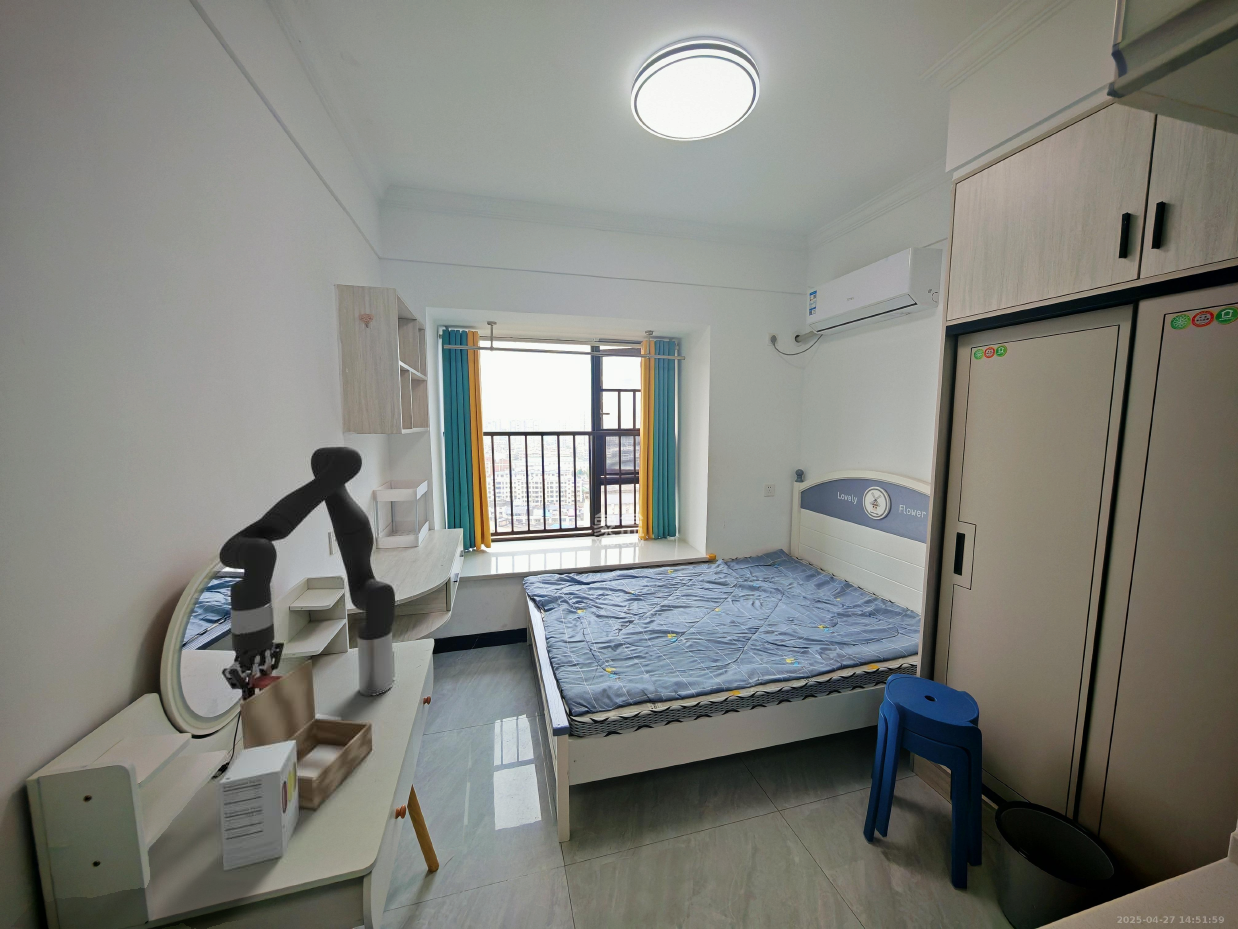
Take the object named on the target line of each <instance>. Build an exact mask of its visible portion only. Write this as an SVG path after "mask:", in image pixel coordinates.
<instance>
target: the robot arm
mask: <svg viewBox="0 0 1238 929" xmlns="http://www.w3.org/2000/svg"><path fill="white" fill-rule="evenodd" d="M362 466H363V458H362V456H361V454H360V452H359V451H358V450H357V449H355V448H353V447H349V446H329V447H326V446H325V447H319V448H318V449H316V450H314V452H313V453H312V454H311V457H310V468H311V469H310V470H311V471H312V475H313V479H312V480H310V481H309V482H307V483H305V484H304V485H302V486H300V487H299V488H297V489H295V490H293V491H291V492H290V493H288V494H287V495H285V496H284V497H282V498H281V499H280V500H278V501H277V502H276V503H275V504H273V506H272V507H270V509H268V510H267V512H265V513H264V514H263V515H262V517H261V518H259V519H257V520H256V521H254V522H253V523H251V524H249V525H247V526H245V527H244V528H243V529H241V530H239V531H238V532H236V533H235V534H233V535H232V536H231V537H230V538H229V539H227V541H225V543H223V545H222V547H221V549H220V551H219V555H218V556H219V558H218V559H219V562H220V563H221V565H223V566H224V567H226V568H229V569H235V570H243V577H242V579H239V580H237V581H235V582H234V583H233V584H232V585H231V586H230V590H229V591H230V593H229V594H230V612H231V613H230V631H231V632H230V633H231V645H232V646H231V647H232V649H233V651H234V652H235V657H234V659H233V663H232V664H231V665H230V666H229V667H228V668H227V667H225V668H223V670H222V671H221V674H222V676H223V678H225V680H226V682H227V683H228V685H229V687H230V689H232V690H241V695H242V696H241V698H242V701H243V702H244V701H246V700H247V699H249V698H250V697H252V696H253V695H255V694H256V690H255V689H256V688H255V686H253V685H254V679H255V678H256V677H257V675H258V676H259V675H265V676H273V672H274V671H275V670H278V668H279V666H280V663H281V658H282V654H283V651H284V646H285V643H284V642H279V641H278V642H273V641H275V639H276V638H275V622H274V610H273V604H272V593H271V592H272V591H271V583H272V579H273V576H274V572H275V568H276V565H277V564H276V563H277V559H278V555H277V554H278V553H277V549H276V546H275V545H274V543H273V542H277V541H280V540H284V539H286V538H287V537H288V536H290V535H291V533H293V532H294V530H296V529H297V527H298V526H300V524H301V523H302V522H303V521H304V520H305V519H306V518H307V517H308V516H309V515H311V513H312V512H313V511H314V510H315V509H317V508H318V507H319V506H320V504H322V503H323V502H324V504H325V507H326V509H327V513H328V516H329V519H330V521H331V522H330V523H331V525H332V530H333V533H334V534H333V535H334V537H335V541H336V544H337V547H338V550H339V552H340V556H341V560H342V563H343V567H344V570H345V574H346V577H347V584H348V593H349V596H350V602H351V603H352V605H353V606H354V608H356V609H357V610H359V611H361V612H365V621H364V622H362V623H361V624H359V626H358V627H357V653H358V654H357V655H358V660H357V661H358V683H359V685H358V690H359V691H360V692H359V693H360V695H362V694H363V695H362V696H366V695H372V696H374V695H373V694H377V693H380V692H383V691H385V690H387V689H388V688H389V687H390V686H391V685H392V683H393V684H394V681H393V678H394V677H395V676H396V675H395V651H394V650H393V648H394V646H393V625H394V622H395V617H396V592H395V589H394V588H393V586H392V585H391V584H390V583H386V582H383V581H380V580H377V579H376V577H375V574H374V572H373V568H372V565H371V557H372V552H373V549H374V543H375V538H374V532H373V530H372V525H371V523H370V522H371V521H370V519H369V516H368V515H367V514H366V512H365V511H364V510H363V508H362V507H361V506H360V505H359V504H358V503H357V501H356V500H354V499H353V497H352V496H351V494H350V493H349V491H348V489H347V487H346V484H347V483H349V482H350V481H351V480H353V479H354V478H355V477H356V476H358V474H359V473H360V471H361V469H362ZM273 660H274V661H273ZM395 678H396V677H395ZM261 690H263V689H258V692H260V691H261ZM387 691H388V690H387ZM383 693H384V692H383Z"/></svg>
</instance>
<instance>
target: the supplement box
mask: <svg viewBox="0 0 1238 929" xmlns="http://www.w3.org/2000/svg"><path fill="white" fill-rule="evenodd" d="M218 788H219V789H218V790H219V792H218V793H219V805H220V806H219V808H220V826H221V844H222V845H221V846H222V859H223V863H222V864H223V871H224V870H226V871H228V870H229V871H230V870H234V869H237V868H241V867H244V866H248V865H253V864H257V863H260V862H264V861H269V860H272V859H277V858H280V857H283V856H284V855H285V854H284V853H285V852H286V849H287V846H288V845H289V843H290V840H291V839H292V838H291V837H292V835H293V833H294V830H295V829H296V826H297V824H298V822H299V819H300V811H299V810H300V809H299V803H298V779H297V754H296V740H293V741H287V742H281V743H276V744H271V745H266V746H260V747H255V748H250V749H245V750H244V749H242V750H241V751H240V752H239V754H238V755H237V757H236V759H235V761H234V762H233V763H232V765H231V766H230V768H229V769H228V770H227V772H226V773H225V775H224V776H223V777H222V778H221V780H220V782H219V783H218Z"/></svg>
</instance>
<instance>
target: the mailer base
mask: <svg viewBox="0 0 1238 929" xmlns="http://www.w3.org/2000/svg"><path fill="white" fill-rule="evenodd" d="M372 725H373V724H372V723H370V722H361V721H360V722H359V721H349V720H342V721H340V720H329V719H318V718H315V719H314V720H313V721H312V722H310V723H309V724H308V725H307V726H306V727H304V728H303V729H302V730H301V731H299V732H298V733H297V734H296V735H295V736H293V737H292V738H291V739H290V740H288V741H293V740H296V754H297V779H298V803H299V810H305V811H314V812H315V811H316V812H317V810H318V809H319V808H320V807H321V806H322V805H323V804H324V803H325V802H326V800H328V798H329V797H330V796H331V795H332V794H333V793H334V792H335V791H336V790H337V788H339V787H340V785H342V783H343V782H344V781H345V780H346V779H348V777H349V776H350V774H351V773H352V772H353V771H355V769H356V768H357V767H358V766H359V765H360V763H361V762H363V760H364V759H366V757H367V756H368V755H369V754H370V753H371V752H372V750H373V733H372V732H373V728H372Z"/></svg>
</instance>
